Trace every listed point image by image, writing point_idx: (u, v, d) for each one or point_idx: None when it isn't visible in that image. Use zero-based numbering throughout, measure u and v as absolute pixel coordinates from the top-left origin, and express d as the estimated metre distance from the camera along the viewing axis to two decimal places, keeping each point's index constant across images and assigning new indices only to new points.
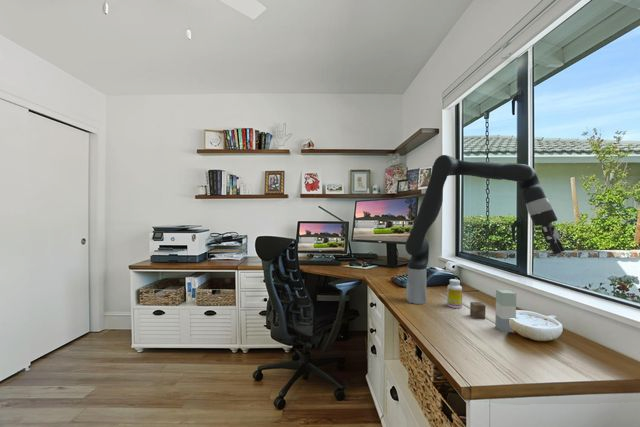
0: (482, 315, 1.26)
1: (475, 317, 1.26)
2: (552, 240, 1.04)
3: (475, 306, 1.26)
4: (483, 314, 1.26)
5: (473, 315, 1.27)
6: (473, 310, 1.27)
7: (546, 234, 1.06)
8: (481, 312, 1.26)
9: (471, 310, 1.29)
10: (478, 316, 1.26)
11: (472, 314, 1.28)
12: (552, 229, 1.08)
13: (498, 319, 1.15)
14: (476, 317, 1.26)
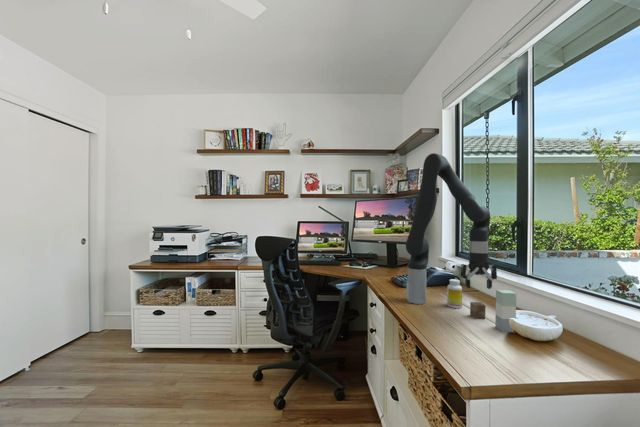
0: (482, 315, 1.26)
1: (475, 317, 1.26)
2: (462, 276, 1.28)
3: (475, 306, 1.26)
4: (483, 314, 1.26)
5: (473, 315, 1.27)
6: (473, 310, 1.27)
7: (461, 270, 1.29)
8: (481, 312, 1.26)
9: (471, 310, 1.29)
10: (478, 316, 1.26)
11: (472, 314, 1.28)
12: (474, 268, 1.27)
13: (498, 319, 1.15)
14: (476, 317, 1.26)
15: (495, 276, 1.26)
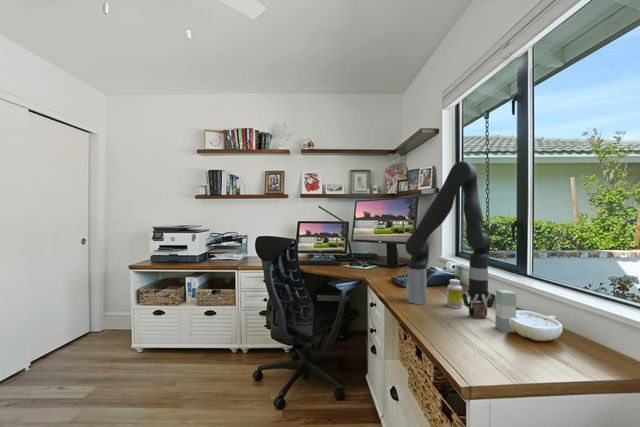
0: (482, 315, 1.26)
1: (475, 317, 1.26)
2: None
3: (475, 306, 1.26)
4: (483, 314, 1.26)
5: None
6: None
7: (463, 299, 1.29)
8: (481, 312, 1.26)
9: None
10: (478, 316, 1.26)
11: None
12: (474, 295, 1.27)
13: (498, 319, 1.15)
14: (476, 317, 1.26)
15: (490, 305, 1.26)
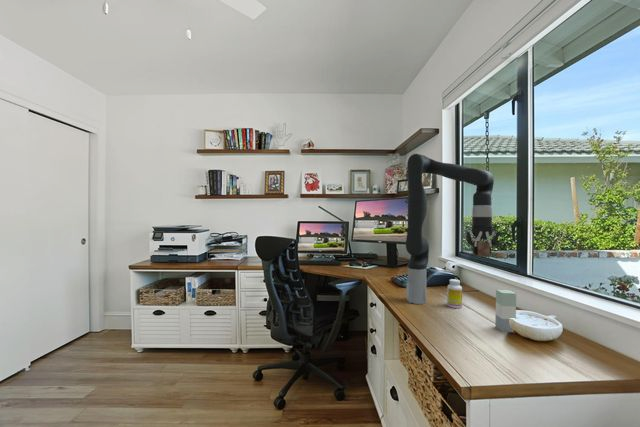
0: (486, 253, 1.24)
1: (479, 255, 1.24)
2: (469, 243, 1.26)
3: (479, 244, 1.24)
4: (487, 251, 1.24)
5: (477, 253, 1.25)
6: (477, 248, 1.26)
7: (467, 238, 1.27)
8: (486, 250, 1.24)
9: None
10: (482, 253, 1.24)
11: None
12: (478, 233, 1.25)
13: (498, 319, 1.15)
14: (480, 255, 1.24)
15: (494, 242, 1.25)
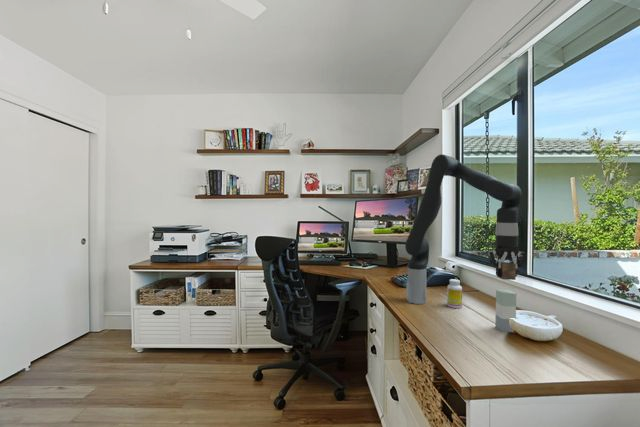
0: (511, 275, 1.12)
1: (504, 278, 1.12)
2: (493, 264, 1.14)
3: (504, 265, 1.13)
4: (513, 274, 1.12)
5: None
6: None
7: (489, 258, 1.15)
8: (511, 272, 1.12)
9: None
10: (507, 276, 1.12)
11: None
12: (502, 254, 1.13)
13: (498, 319, 1.15)
14: (505, 277, 1.12)
15: (520, 264, 1.13)
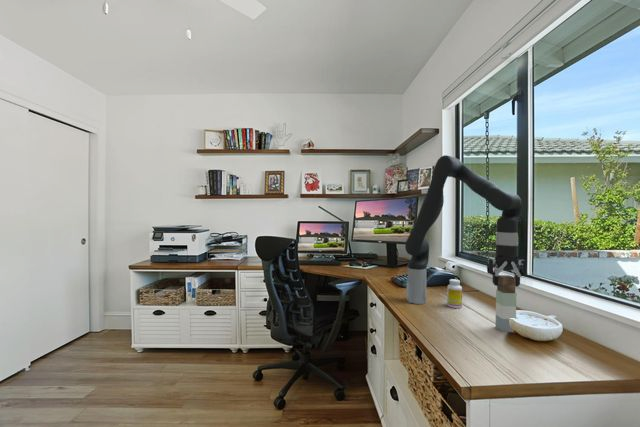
0: (511, 289, 1.12)
1: (504, 291, 1.12)
2: (489, 272, 1.15)
3: (504, 279, 1.13)
4: (513, 288, 1.12)
5: (501, 289, 1.14)
6: (501, 283, 1.14)
7: (488, 266, 1.15)
8: (511, 286, 1.12)
9: (499, 284, 1.16)
10: (507, 289, 1.12)
11: (500, 288, 1.14)
12: (502, 263, 1.13)
13: (498, 319, 1.15)
14: (505, 291, 1.12)
15: (524, 272, 1.13)
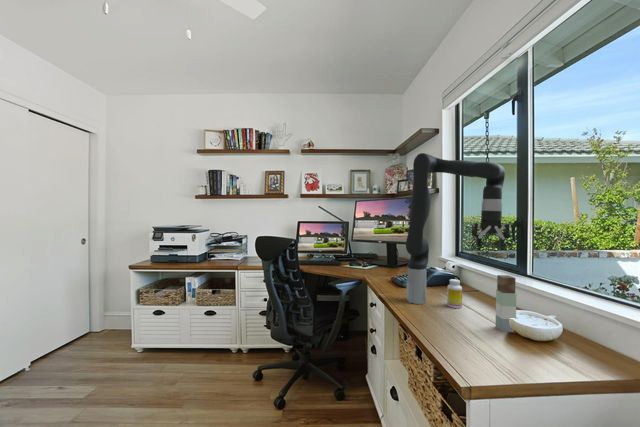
0: (511, 289, 1.12)
1: (504, 291, 1.12)
2: (473, 235, 1.25)
3: (504, 279, 1.13)
4: (513, 288, 1.12)
5: (501, 289, 1.14)
6: (501, 283, 1.14)
7: (473, 229, 1.26)
8: (511, 286, 1.12)
9: (499, 284, 1.16)
10: (507, 290, 1.12)
11: (500, 288, 1.14)
12: (486, 227, 1.24)
13: (498, 319, 1.15)
14: (505, 291, 1.12)
15: (507, 235, 1.23)
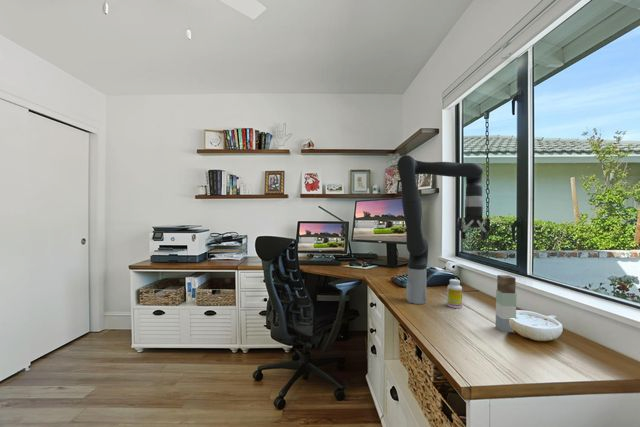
0: (511, 289, 1.12)
1: (504, 291, 1.12)
2: (458, 229, 1.39)
3: (504, 279, 1.13)
4: (513, 288, 1.12)
5: (501, 289, 1.14)
6: (501, 283, 1.14)
7: (457, 223, 1.40)
8: (511, 286, 1.12)
9: (499, 284, 1.16)
10: (507, 290, 1.12)
11: (500, 288, 1.14)
12: (469, 221, 1.38)
13: (498, 319, 1.15)
14: (505, 291, 1.12)
15: (488, 228, 1.37)
